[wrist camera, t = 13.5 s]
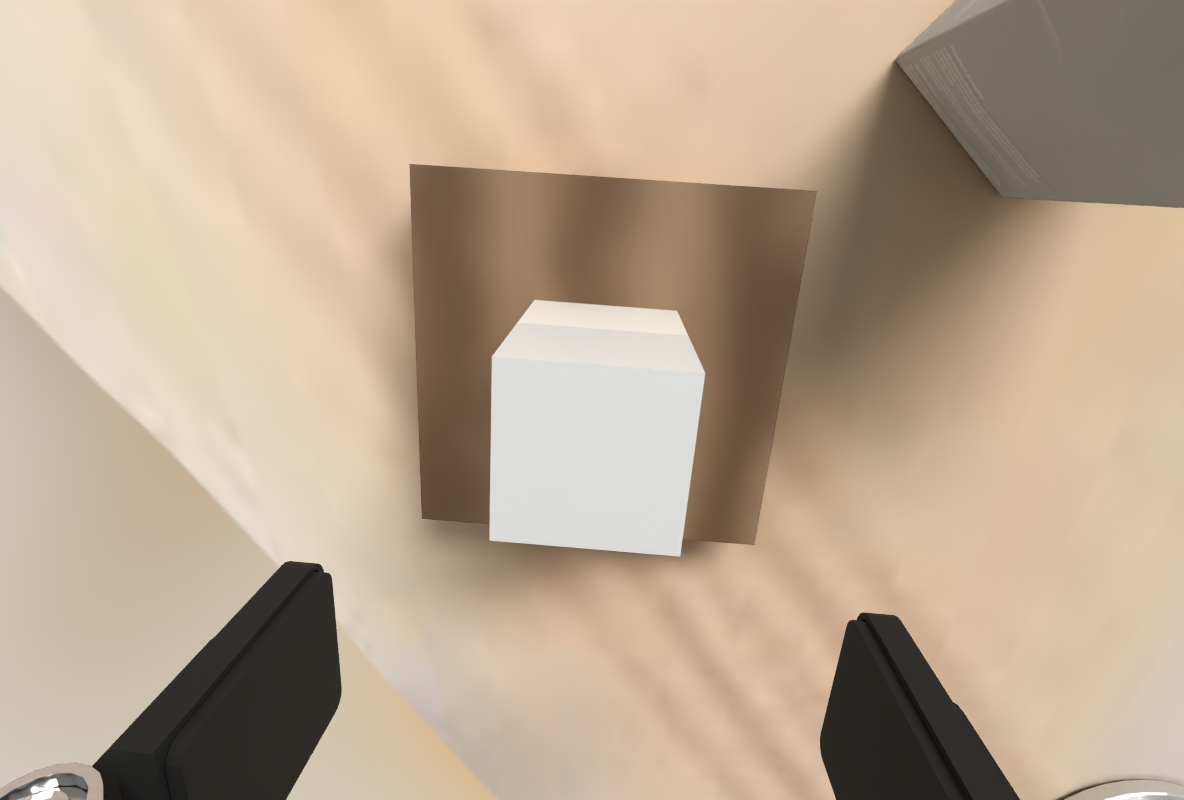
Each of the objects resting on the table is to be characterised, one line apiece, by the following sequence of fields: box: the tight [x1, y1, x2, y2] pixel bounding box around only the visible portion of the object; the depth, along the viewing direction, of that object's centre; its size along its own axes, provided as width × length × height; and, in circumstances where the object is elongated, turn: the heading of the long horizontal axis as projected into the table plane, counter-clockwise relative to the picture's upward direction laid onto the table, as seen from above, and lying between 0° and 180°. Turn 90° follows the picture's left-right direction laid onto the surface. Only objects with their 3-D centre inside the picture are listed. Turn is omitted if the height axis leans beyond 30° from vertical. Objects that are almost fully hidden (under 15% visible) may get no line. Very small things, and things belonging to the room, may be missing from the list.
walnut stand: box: [410, 164, 817, 545], centre depth 28 cm, size 16×16×4 cm
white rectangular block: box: [489, 300, 705, 556], centre depth 22 cm, size 6×6×9 cm
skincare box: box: [896, 0, 1184, 208], centre depth 18 cm, size 8×7×16 cm
